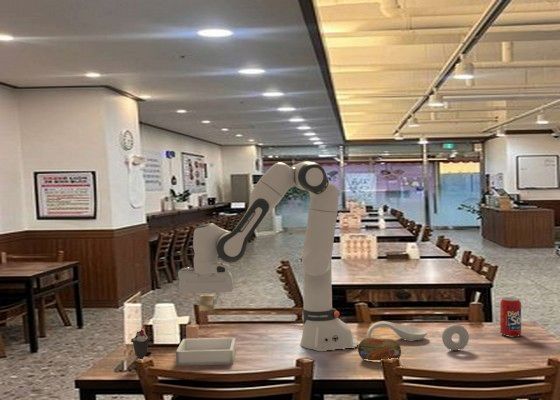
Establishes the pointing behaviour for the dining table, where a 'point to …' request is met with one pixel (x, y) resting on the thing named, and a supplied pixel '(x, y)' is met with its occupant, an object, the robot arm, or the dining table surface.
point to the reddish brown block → (192, 331)
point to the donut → (452, 330)
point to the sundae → (140, 344)
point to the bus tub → (206, 351)
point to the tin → (379, 349)
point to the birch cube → (206, 302)
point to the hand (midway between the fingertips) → (206, 304)
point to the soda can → (510, 316)
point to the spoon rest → (400, 330)
